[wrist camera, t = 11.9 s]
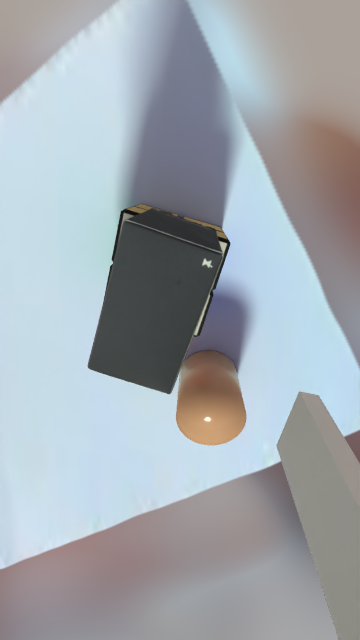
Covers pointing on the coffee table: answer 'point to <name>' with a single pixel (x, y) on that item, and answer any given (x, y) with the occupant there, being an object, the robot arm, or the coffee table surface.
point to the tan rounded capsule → (210, 399)
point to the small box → (155, 298)
